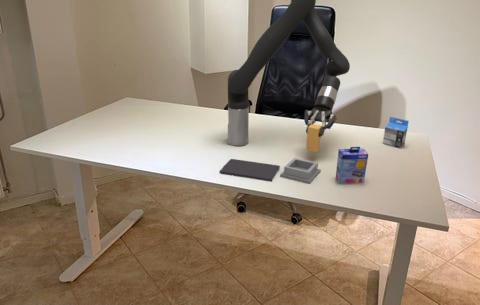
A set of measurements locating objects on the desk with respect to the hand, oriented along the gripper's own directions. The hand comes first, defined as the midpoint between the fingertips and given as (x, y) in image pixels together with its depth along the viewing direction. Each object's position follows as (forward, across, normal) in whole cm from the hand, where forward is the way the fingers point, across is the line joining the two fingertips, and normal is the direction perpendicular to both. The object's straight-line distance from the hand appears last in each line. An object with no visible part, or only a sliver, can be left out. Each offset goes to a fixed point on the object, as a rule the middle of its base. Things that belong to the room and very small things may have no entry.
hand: (313, 134), depth 162 cm
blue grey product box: (-16, +27, +32) cm, 45 cm away
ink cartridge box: (+16, +19, 0) cm, 25 cm away
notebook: (+24, -17, -7) cm, 31 cm away
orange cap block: (+4, 0, +5) cm, 7 cm away
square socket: (+19, +1, -3) cm, 19 cm away
